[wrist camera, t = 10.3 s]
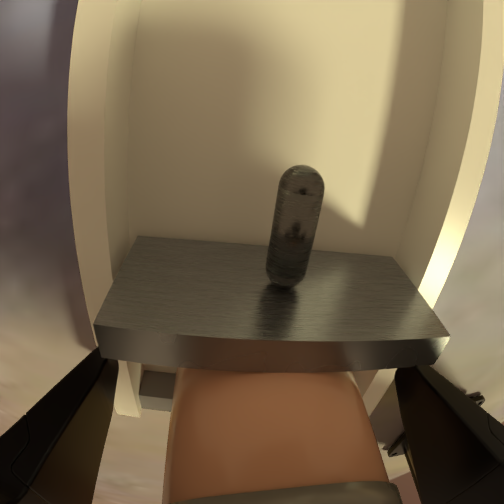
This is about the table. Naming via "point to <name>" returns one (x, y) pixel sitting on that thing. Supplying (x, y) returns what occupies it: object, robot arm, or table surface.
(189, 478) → the terracotta jar
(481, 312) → the table surface
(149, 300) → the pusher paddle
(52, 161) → the table surface
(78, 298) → the table surface
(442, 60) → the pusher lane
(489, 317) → the table surface
